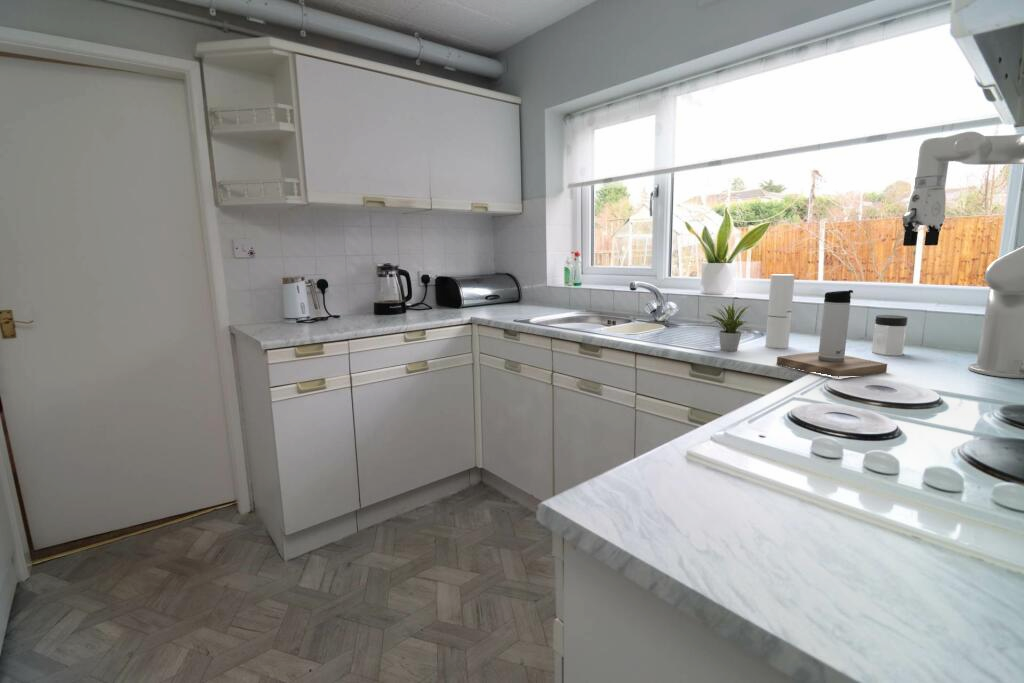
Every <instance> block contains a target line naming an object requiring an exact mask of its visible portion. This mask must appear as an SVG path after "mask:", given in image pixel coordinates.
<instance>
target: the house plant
mask: <svg viewBox="0 0 1024 683" xmlns="http://www.w3.org/2000/svg"><path fill="white" fill-rule="evenodd" d="M734 305H735V304H734V303H732V306H730V305H729V304H727V308H726V307H725V305H723V304H722V303H721V306H722V308H724V309H725V312H726V314H725V312H724V311H723V310H722V309H720V308H718V307H714V306H713V309H714V310H716V311H717V312H718V313H719V314H720V315H721V316H722V318H721V317H719V316H716V315H713V314H706V315H707V316H709V317H712V318H711V319H712V320H713V319H714V321H711V322H710V324H713V323H718V324H719V325H720V326H721V327H722V328H723V329H722V330H719V331H718V335H719V345H720V350H721V351H725V352H737V351H738V348H739V345H740V340H741V336H742V331H740V330H738V328H740V327H741V326H744V325H745V326H746V324H747V322H746V320H741V319H742V316H743V314H744V313H745V311H746V310H747V311H746V313H747V312H748V311H749V310H748V308H751V307H752V305H749V306H746V307H745V306H744V305H742V306H739V308H737V310H736V311H735V306H734ZM710 307H712V306H710ZM743 307H744V308H743ZM741 308H743V309H741ZM740 309H741V310H740ZM739 310H740V312H739V313H738V311H739ZM737 313H738V315H737Z"/></svg>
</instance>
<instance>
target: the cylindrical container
mask: <svg viewBox="0 0 1024 683" xmlns="http://www.w3.org/2000/svg"><path fill="white" fill-rule="evenodd" d="M795 277H796V276H795V274H792V273H791V274H789V273H786V274H785V273H782V274H781V273H778V274H776V273H773V274H770V282H769V283H770V284H769V295H768V306H767V307H768V310H767V319H766V320H767V321H766V333H765V334H766V335H765V345H764V346H765V347H767V348H772V349H788V348H789V344H790V343H789V341H790V333H791V330H790V329H791V320H792V308H793V300H794V299H793V298H794V296H793V295H794V287H795V286H794V285H795Z"/></svg>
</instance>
